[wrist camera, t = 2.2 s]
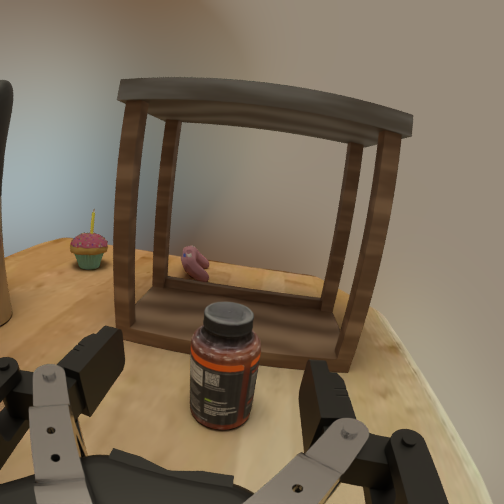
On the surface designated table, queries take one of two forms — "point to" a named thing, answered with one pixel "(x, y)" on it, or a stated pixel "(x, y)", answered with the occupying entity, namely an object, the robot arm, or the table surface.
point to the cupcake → (89, 248)
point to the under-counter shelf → (258, 301)
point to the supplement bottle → (224, 366)
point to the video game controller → (195, 263)
